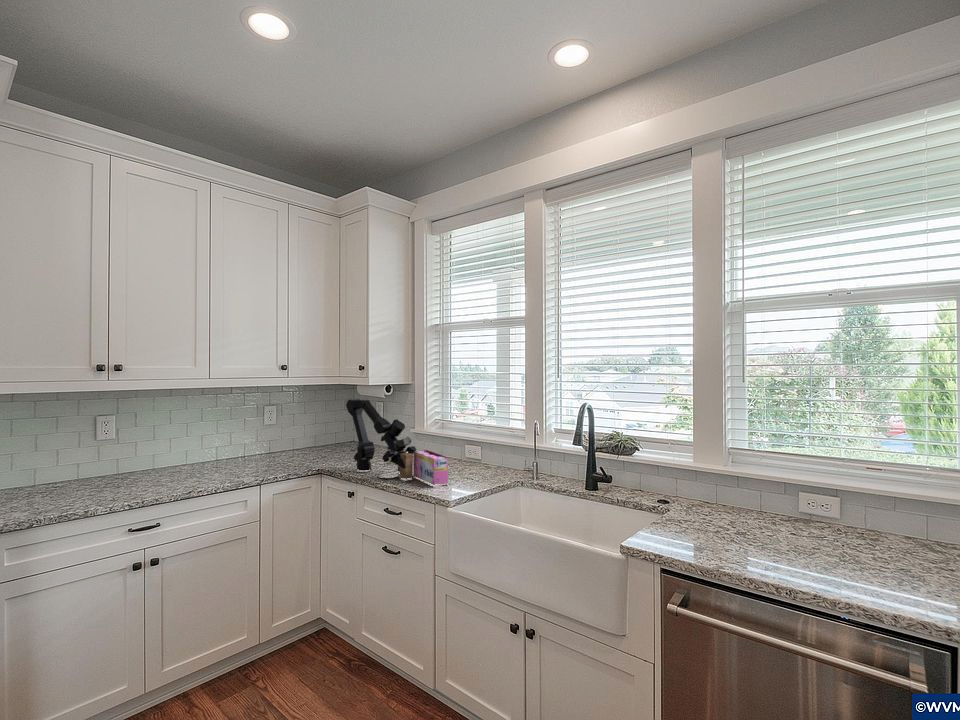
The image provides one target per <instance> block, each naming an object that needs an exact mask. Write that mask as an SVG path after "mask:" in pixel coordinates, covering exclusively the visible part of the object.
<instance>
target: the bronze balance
mask: <svg viewBox="0 0 960 720" xmlns="http://www.w3.org/2000/svg"><path fill="white" fill-rule="evenodd" d="M394 464H395V463H393V462H390V461H387V462H385V465H387V466H388V465H392V466H393V465H394ZM397 471H400V466H398V465H397Z"/></svg>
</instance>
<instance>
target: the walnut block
mask: <svg viewBox="0 0 960 720" xmlns="http://www.w3.org/2000/svg"><path fill="white" fill-rule="evenodd" d="M400 458H401V460H402V461H403V463H404V465H405V469H403V468H402V467H400V475H399V479H400V478H406V479H407V478H411V477H412V478H413V471H414V453H413V454H411V453H403V454H400Z"/></svg>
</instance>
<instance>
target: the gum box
mask: <svg viewBox="0 0 960 720" xmlns="http://www.w3.org/2000/svg"><path fill="white" fill-rule="evenodd" d="M414 476H416V477H418V478H420V479H422V480H425V481H427V482H429V483H431V484H433V485H435V484H443V483H449V481H448V480H449V478H448V477H449V457H448V456H446V455H443V454H441V453H440V454H439V453H437V452H433V451H431V450H428V449H425V450H423V451H414V453H413V477H414Z"/></svg>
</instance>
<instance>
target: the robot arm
mask: <svg viewBox="0 0 960 720" xmlns="http://www.w3.org/2000/svg"><path fill="white" fill-rule="evenodd" d="M345 406H346V409H347V413H349V414H350V415H351V416H352V419H353V424H354V428H355V432H356V436H357V439H358V444H357V446H356V447H357V448H356V449H357V452H355V455H354V456H353V459H354V461H355V462H356V470H357V469H359V470H369V469H371V470H372V462H371V460H373V458H374V455H375V454H376V453H375V452H376V451H375V449H376V448H375V445H374V442H373V441H370V440H369V439H368V438H369V437H368V434H367V430H366V427H365V426H366V425H365V422H364V418H363V411H364V412H365V414H366V415H367V416H368V418H369V419H370V420H371V422H372V423H373V428H374V430H375V432H376V434H379V435H381V438H380V442H385V444H386V445H387V451H386V452H385V453H384V454H383V455H382V461H383V462H384V463H387V462H393V463H394V464H395V465H396V466H397V467H398V466H400V467H402V468H403V469H405V465H404V463H403V461H402V460H401V458H400V454H403V453H411V454H413V455H414V451H415V452H417V448H416V447H415V446H414V445H411V443H412V439H411V438H410V436H406V437H405V438H401V439H398V438H397V437H399V436H400V435H401V433H402V432H403V431H404V430H405V428H406V426H405V424H404V423H403V422H402V421H400V420H399V419H394V420H393V421H392V423H391V422H389V421H388V420H387V419H385V418H384V417H382V415H380V414H379V412H378V411H377V409H376V408H375V407H374V406H373V404H372V402H371V401H370V400H369V399H360V398H353V399H348V400H347V401H346V403H345ZM382 434H383V435H382ZM406 446H408V447H406Z"/></svg>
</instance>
